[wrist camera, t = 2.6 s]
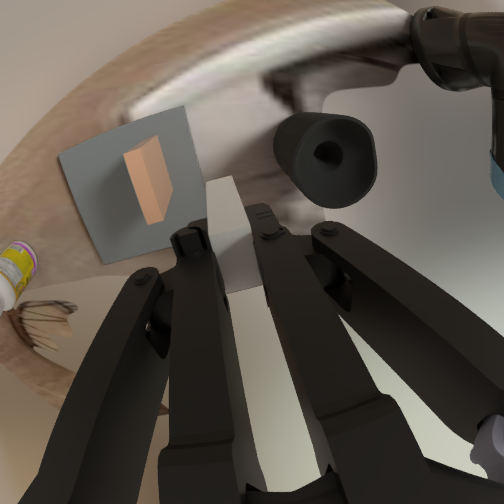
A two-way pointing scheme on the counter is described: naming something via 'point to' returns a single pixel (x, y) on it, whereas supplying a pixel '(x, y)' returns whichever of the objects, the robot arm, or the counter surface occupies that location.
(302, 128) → the pen holder
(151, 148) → the tile
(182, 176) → the slate board
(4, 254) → the supplement bottle
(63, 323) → the counter surface
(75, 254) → the counter surface
